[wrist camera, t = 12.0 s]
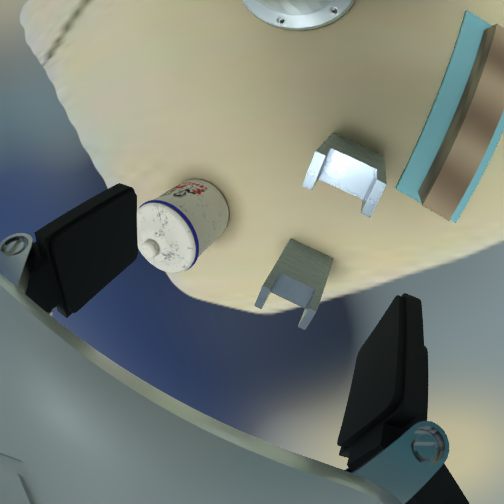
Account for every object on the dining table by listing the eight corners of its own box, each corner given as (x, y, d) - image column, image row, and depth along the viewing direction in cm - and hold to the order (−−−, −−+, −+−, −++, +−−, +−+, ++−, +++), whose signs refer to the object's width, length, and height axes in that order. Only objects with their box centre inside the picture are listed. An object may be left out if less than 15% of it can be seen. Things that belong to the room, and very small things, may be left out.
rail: (484, 30, 16) (497, 23, 13) (509, 47, 16) (524, 44, 13) (417, 191, 28) (422, 205, 25) (441, 205, 28) (449, 220, 25)
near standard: (332, 132, 29) (315, 151, 22) (383, 156, 29) (386, 184, 21) (323, 157, 31) (302, 185, 23) (372, 180, 30) (369, 217, 22)
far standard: (290, 238, 38) (262, 285, 30) (333, 258, 37) (316, 311, 29) (282, 256, 40) (254, 305, 32) (323, 276, 39) (304, 330, 31)
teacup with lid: (215, 167, 37) (156, 202, 28) (242, 232, 40) (196, 283, 31) (150, 192, 43) (93, 228, 33) (175, 246, 46) (127, 291, 37)
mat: (465, 11, 16) (466, 10, 16) (527, 54, 15) (529, 53, 15) (395, 187, 30) (396, 189, 29) (454, 220, 28) (455, 223, 28)
